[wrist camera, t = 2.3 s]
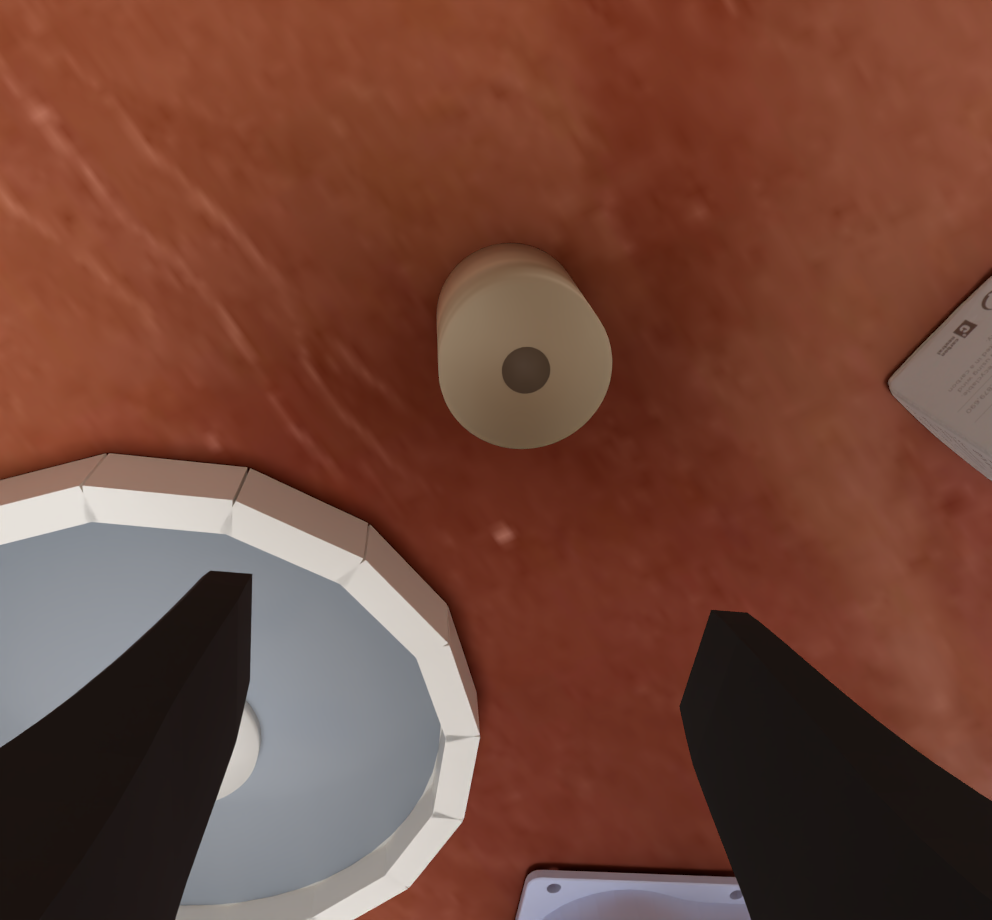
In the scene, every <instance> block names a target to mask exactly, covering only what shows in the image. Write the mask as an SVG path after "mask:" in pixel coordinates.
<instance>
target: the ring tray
mask: <svg viewBox="0 0 992 920" xmlns="http://www.w3.org/2000/svg"><path fill="white" fill-rule="evenodd" d="M210 570H211V571H223V572H236V573H249V574H252V616H251V662H250V683H249V688H248V692H247V697H246V701H245V706H244V710H243V715H242V719H241V724H240V728H239V732H238V737H237V741H236V744H235V747H234V750H233V753H232V756H231V759H230V762H229V764H228V767H227V770H226V773H225V776H224V779H223V782H222V784H221V787H220V790H219V793H218V796H217V799H216V801H215V804H214V807H213V810H212V813H211V816H210V818H209V821H208V824H207V827H206V830H205V832H204V835H203V838H202V841H201V844H200V846H199V849H198V852H197V855H196V858H195V861H194V863H193V866H192V869H191V872H190V875H189V877H188V880H187V883H186V886H185V889H184V893H183V896H182V899H181V902H180V906H179V909H178V912H177V915H176V919H175V920H354V919H355V918H357V917H359V916H361V915H362V914H364V913H366V912H368V911H369V910H371V909H373V908H375V907H377V906H378V905H380V904H382V903H384V902H385V901H387V900H389V899H391V898H392V897H394V896H396V895H398V894H399V893H401V892H403V891H405V890H407V889H408V887H410V886H411V885H412V884H413V882H414V881H415V880H416V879H417V877H418V876H419V875H420V874H421V872H422V871H423V870H424V869H425V867H426V866H427V865H428V864H429V863H430V861H431V860H432V859H433V858H434V856H435V855H436V854H437V853H438V851H439V850H440V849H441V848H442V846H443V845H444V844H445V843H446V841H447V840H448V839H449V838H450V836H451V835H452V834H453V833H454V832H455V830H456V829H457V828H458V827H459V825H460V824H461V823H462V822H463V819H464V816H465V811H466V805H467V800H468V795H469V790H470V785H471V780H472V775H473V770H474V765H475V760H476V755H477V750H478V745H479V740H480V729H479V716H478V703H477V692H476V689H475V686H474V683H473V680H472V677H471V674H470V671H469V668H468V665H467V662H466V659H465V656H464V653H463V650H462V647H461V644H460V641H459V638H458V635H457V632H456V629H455V626H454V623H453V620H452V617H451V614H450V611H449V608H448V606H447V604H446V603H445V602H444V601H443V600H442V599H441V598H440V596H439V595H438V594H437V593H436V592H435V591H434V590H433V589H432V588H431V587H430V586H429V585H428V584H427V583H426V582H425V581H424V580H423V579H422V578H421V577H420V576H419V575H418V574H417V573H416V572H415V571H414V569H413V568H412V567H411V566H410V565H409V564H408V563H407V562H406V561H405V560H404V559H403V558H402V557H401V556H400V555H399V554H398V553H397V552H396V551H395V550H394V549H393V548H392V547H391V546H390V545H389V544H388V542H387V541H386V540H385V539H384V538H383V537H382V536H381V535H380V534H379V533H378V532H377V531H376V530H375V529H374V528H373V527H372V526H371V525H369V526H368V523H367V522H365V521H363V520H361V519H358V518H356V517H354V516H352V515H350V514H348V513H346V512H343V511H341V510H339V509H337V508H335V507H333V506H330V505H328V504H326V503H324V502H322V501H320V500H318V499H315V498H313V497H311V496H309V495H307V494H305V493H303V492H300V491H298V490H296V489H294V488H292V487H290V486H288V485H285V484H283V483H281V482H279V481H277V480H275V479H272V478H270V477H268V476H266V475H264V474H262V473H260V472H257V471H255V470H253V469H251V468H250V470H249V472H248V473H247V467H239V466H229V465H220V464H210V463H200V462H191V461H181V460H171V459H161V458H152V457H142V456H132V455H123V454H113V453H109V454H108V455H107V454H106V453H105V454H101V455H98V456H94V457H90V458H86V459H82V460H78V461H74V462H70V463H66V464H62V465H58V466H54V467H50V468H47V469H43V470H39V471H35V472H31V473H27V474H23V475H19V476H15V477H11V478H7V479H3V480H0V747H2V746H3V745H5V744H6V743H8V742H9V741H11V740H12V739H14V738H15V737H16V736H18V735H19V734H21V733H22V732H24V731H25V730H26V729H28V728H29V727H31V726H32V725H34V724H35V723H37V722H38V721H39V720H41V719H42V718H43V717H45V716H46V715H48V714H49V713H50V712H52V711H53V710H54V709H56V708H57V707H58V706H60V705H61V704H62V703H63V702H65V701H66V700H67V699H69V698H70V697H71V696H73V695H74V694H75V693H76V692H77V691H79V690H80V689H81V688H82V687H84V686H85V685H86V684H87V683H88V682H90V681H91V680H92V679H93V678H94V677H96V676H97V675H98V674H99V673H101V672H102V671H103V670H104V669H105V668H107V667H108V666H109V665H110V664H111V663H113V662H114V661H115V660H116V659H117V658H118V657H120V656H121V655H122V654H123V653H124V652H125V651H126V650H127V649H128V648H130V647H131V646H132V645H133V644H134V643H135V642H136V641H137V640H138V639H139V638H140V637H141V636H143V635H144V634H145V633H146V632H147V631H148V630H149V629H150V628H151V627H152V626H153V625H155V624H156V623H157V622H158V621H159V620H160V619H161V618H162V617H163V616H164V615H165V614H166V613H167V612H168V611H169V610H170V609H171V608H172V607H173V606H174V605H175V604H176V603H177V602H178V601H179V600H180V599H181V598H182V597H183V596H184V595H185V594H186V593H187V592H188V591H189V590H190V589H191V588H192V587H193V586H194V585H195V584H196V583H197V581H198V580H199V579H200V578H201V577H202V576H204V575H205V574H206V573H208V572H209V571H210Z"/></svg>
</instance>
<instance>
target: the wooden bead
mask: <svg viewBox="0 0 992 920" xmlns="http://www.w3.org/2000/svg"><path fill="white" fill-rule="evenodd" d="M436 318H437V345H438V372H439V382H440V387H441V392H442V394H443V397H444V400H445V402H446V404H447V406H448V408H449V410H450V411H451V413H452V414H453V415H454V417H455V418H456V420H457V421H458V422H459V423H460V424H461V425H462V426H463V427H464V428H465V429H467V430H468V431H469V432H470V433H472V434H473V435H475V436H477V437H478V438H480V439H482V440H484V441H486V442H488V443H491V444H494V445H497V446H501V447H506V448H512V449H530V448H537V447H543V446H546V445H550V444H553V443H555V442H558V441H560V440H562V439H564V438H566V437H568V436H569V435H571V434H573V433H574V432H576V431H577V430H578V429H579V428H581V427H582V426H583V425H584V424H585V423H586V422H587V421H588V420H589V419H590V418H591V417H592V416H593V414H594V413H595V412H596V411H597V409H598V408H599V406H600V404H601V403H602V401H603V399H604V397H605V395H606V392H607V390H608V386H609V383H610V379H611V373H612V353H611V346H610V342H609V339H608V336H607V333H606V331H605V329H604V327H603V325H602V323H601V322H600V320H599V318H598V317H597V315H596V314H595V312H594V311H593V309H592V308H591V306H590V305H589V304H588V302H587V301H586V299H585V298H584V296H583V295H582V293H581V292H580V290H579V289H578V287H577V286H576V284H575V283H574V281H573V280H572V278H571V277H570V275H569V274H568V273H567V271H566V270H565V269H564V268H563V266H562V265H561V264H560V263H559V262H558V261H557V260H556V259H554V258H553V257H552V256H550V255H549V254H547V253H546V252H544V251H542V250H540V249H538V248H535V247H532V246H529V245H524V244H518V243H501V244H496V245H491V246H488V247H485V248H482V249H480V250H478V251H476V252H474V253H472V254H471V255H469V256H468V257H466V258H465V259H464V260H462V261H461V262H460V263H459V264H458V265H457V266H456V267H455V268H454V269H453V271H452V272H451V273H450V275H449V276H448V278H447V279H446V281H445V283H444V285H443V287H442V289H441V292H440V295H439V299H438V304H437V315H436Z"/></svg>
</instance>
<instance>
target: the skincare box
mask: <svg viewBox="0 0 992 920" xmlns="http://www.w3.org/2000/svg"><path fill="white" fill-rule="evenodd" d="M888 385H889V389H890V391H891V393H892V395H893V396H894V397H895V398H896V399H897V400H898V401H899V402H900V403H901V404H902V405H903V406H904V407H905V408H906V409H907V410H908V411H909V412H910V413H911V414H912V415H913V416H914V417H915V418H916V419H917V420H918V421H919V422H920V423H922V424H923V425H924V426H925V427H926V428H927V429H928V430H929V431H930V432H931V433H933V434H934V435H935V436H936V437H937V438H938V439H939V440H941V441H942V442H943V443H944V444H945V445H947V446H948V447H949V448H950V449H951V450H953V451H954V452H955V453H956V454H958V455H959V456H960V457H961V458H963V459H964V460H965V461H966V462H968V463H969V464H970V465H971V466H973V467H974V468H975V469H977V470H978V471H979V472H980V473H982V474H983V475H984V476H986V477H987V478H988V479H990V480H991V481H992V276H991V277H990V278H989V279H988V280H986V281H985V282H984V283H983V284H982V285H981V286H980V287H979V288H978V289H977V290H976V291H975V292H974V293H973V294H971V295H970V296H969V297H968V298H967V300H965V301H964V302H963V303H962V304H961V305H960V306H959V307H958V308H957V309H956V310H955V311H954V312H953V313H952V314H951V315H950V316H949V317H948V318H947V319H946V320H945V321H944V322H943V323H942V325H941V326H940V327H939V328H938V329H937V330H936V331H935V332H934V333H932V334H931V335H930V336H929V337H928V338H927V340H926V341H925V342H923V343H922V344H921V345H920V346H919V348H918V349H917V350H916V351H915V352H914V353H913V354H912V355H911V356H910V357H909V358H908V359H907V360H906V361H905V362H904V363H903V365H902V366H901V367H900V368H899V369H898V370H897V371H896V372H895V373H894V374H893V375H892V376H891V377H890V379H889V380H888Z"/></svg>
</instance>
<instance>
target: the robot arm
mask: <svg viewBox="0 0 992 920" xmlns="http://www.w3.org/2000/svg"><path fill="white" fill-rule="evenodd" d="M251 616H252V574H249V573H236V572H223V571H211V570H210V571H209V572H208V573H206V574H205V575H204V576H202V577H201V578H200V579H199V580H198V581H197V583H196V584H195V585H194V586H193V587H192V588H191V589H190V590H189V591H188V592H187V593H186V594H185V595H184V596H183V597H182V598H181V599H180V600H179V601H178V602H177V603H176V604H175V605H174V606H173V607H172V608H171V609H170V610H169V611H168V612H167V613H166V614H165V615H164V616H163V617H162V618H161V619H160V620H159V621H158V622H157V623H156V624H155V625H153V626H152V627H151V628H150V629H149V630H148V631H147V632H146V633H145V634H144V635H143V636H141V637H140V638H139V639H138V640H137V641H136V642H135V643H134V644H133V645H132V646H131V647H130V648H128V649H127V650H126V651H125V652H124V653H123V654H122V655H121V656H120V657H118V658H117V659H116V660H115V661H114V662H113V663H111V664H110V665H109V666H108V667H107V668H105V669H104V670H103V671H102V672H101V673H99V674H98V675H97V676H96V677H94V678H93V679H92V680H91V681H90V682H88V683H87V684H86V685H85V686H84V687H82V688H81V689H80V690H79V691H77V692H76V693H75V694H74V695H73V696H71V697H70V698H69V699H67V700H66V701H65V702H63V703H62V704H61V705H60V706H58V707H57V708H56V709H54V710H53V711H52V712H50V713H49V714H48V715H46V716H45V717H43V718H42V719H41V720H39V721H38V722H37V723H35V724H34V725H32V726H31V727H29V728H28V729H26V730H25V731H24V732H22V733H21V734H19V735H18V736H16V737H15V738H14V739H12V740H11V741H9V742H8V743H6V744H5V745H3V746H2V747H0V920H175V919H176V915H177V912H178V909H179V906H180V902H181V899H182V896H183V893H184V889H185V886H186V883H187V880H188V877H189V875H190V872H191V869H192V866H193V863H194V861H195V858H196V855H197V852H198V849H199V846H200V844H201V841H202V838H203V835H204V832H205V830H206V827H207V824H208V821H209V818H210V816H211V813H212V810H213V807H214V804H215V801H216V799H217V796H218V793H219V790H220V787H221V784H222V782H223V779H224V776H225V773H226V770H227V767H228V764H229V762H230V759H231V756H232V753H233V750H234V747H235V744H236V741H237V737H238V732H239V728H240V724H241V719H242V715H243V710H244V706H245V701H246V697H247V692H248V688H249V683H250V662H251ZM680 711H681V716H682V720H683V725H684V729H685V734H686V739H687V743H688V747H689V751H690V755H691V759H692V763H693V766H694V769H695V772H696V775H697V777H698V780H699V783H700V786H701V788H702V791H703V794H704V796H705V799H706V802H707V804H708V807H709V810H710V812H711V815H712V817H713V820H714V823H715V825H716V828H717V830H718V833H719V836H720V838H721V841H722V843H723V846H724V848H725V851H726V854H727V856H728V859H729V861H730V864H731V867H732V869H733V872H734V874H735V877H721V876H694V875H668V874H642V873H616V872H590V871H564V870H535V871H533V872H531V873H530V874H528V875H527V877H526V879H525V883H524V887H523V891H522V895H521V899H520V903H519V907H518V910H517V914H516V918H515V920H992V801H991V800H989V799H988V798H986V797H984V796H983V795H981V794H980V793H978V792H977V791H975V790H974V789H972V788H971V787H969V786H968V785H966V784H965V783H963V782H962V781H960V780H959V779H957V778H956V777H954V776H953V775H951V774H950V773H948V772H947V771H945V770H944V769H942V768H941V767H939V766H938V765H936V764H935V763H934V762H932V761H931V760H929V759H928V758H927V757H925V756H924V755H922V754H921V753H920V752H918V751H917V750H915V749H914V748H913V747H911V746H910V745H909V744H907V743H906V742H905V741H903V740H902V739H901V738H900V737H898V736H897V735H896V734H894V733H893V732H892V731H890V730H889V729H888V728H886V727H885V726H884V725H883V724H881V723H880V722H879V721H877V720H876V719H875V718H874V717H872V716H871V715H870V714H869V713H867V712H866V711H865V710H864V709H862V708H861V707H860V706H859V705H857V704H856V703H855V702H854V701H852V700H851V699H850V698H849V697H848V696H846V695H845V694H844V693H843V692H842V691H840V690H839V689H838V688H837V687H836V686H834V685H833V684H832V683H831V682H830V681H829V680H827V679H826V678H825V677H824V676H823V675H821V674H820V673H819V672H818V671H817V670H816V669H814V668H813V667H812V666H811V665H810V664H809V663H807V662H806V661H805V660H804V659H803V658H802V657H801V656H799V655H798V654H797V653H796V652H795V651H794V650H792V649H791V648H790V647H789V646H788V645H787V644H785V643H784V642H783V641H782V640H781V639H779V638H778V637H777V636H776V635H775V634H774V633H772V632H771V631H770V630H769V629H767V628H766V627H765V626H764V625H763V624H761V623H760V622H759V621H757V620H756V619H755V618H753V617H752V616H751V615H749V614H748V613H743V612H730V611H718V610H711V612H710V616H709V619H708V622H707V625H706V628H705V631H704V634H703V637H702V640H701V643H700V646H699V649H698V652H697V655H696V658H695V661H694V664H693V667H692V670H691V673H690V676H689V679H688V682H687V686H686V689H685V692H684V695H683V698H682V701H681V704H680Z"/></svg>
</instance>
